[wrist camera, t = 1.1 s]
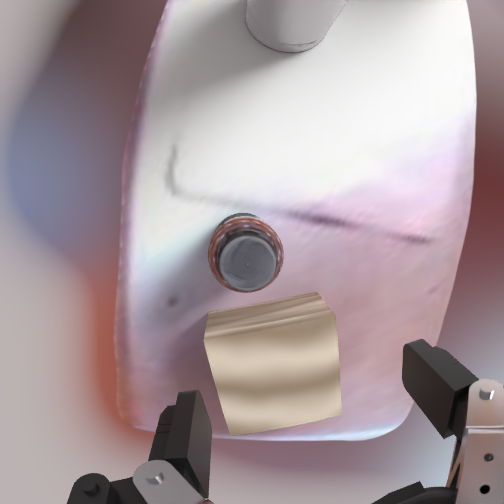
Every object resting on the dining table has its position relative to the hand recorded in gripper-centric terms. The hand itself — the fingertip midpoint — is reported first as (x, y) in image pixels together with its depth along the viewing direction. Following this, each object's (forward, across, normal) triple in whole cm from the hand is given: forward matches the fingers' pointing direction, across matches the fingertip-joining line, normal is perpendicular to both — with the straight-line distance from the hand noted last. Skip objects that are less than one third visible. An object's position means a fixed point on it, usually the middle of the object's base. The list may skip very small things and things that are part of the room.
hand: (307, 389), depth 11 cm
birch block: (+23, +1, +11) cm, 26 cm away
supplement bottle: (+24, +1, -2) cm, 24 cm away
